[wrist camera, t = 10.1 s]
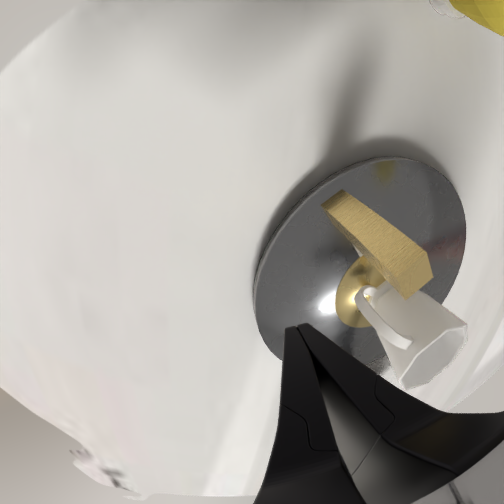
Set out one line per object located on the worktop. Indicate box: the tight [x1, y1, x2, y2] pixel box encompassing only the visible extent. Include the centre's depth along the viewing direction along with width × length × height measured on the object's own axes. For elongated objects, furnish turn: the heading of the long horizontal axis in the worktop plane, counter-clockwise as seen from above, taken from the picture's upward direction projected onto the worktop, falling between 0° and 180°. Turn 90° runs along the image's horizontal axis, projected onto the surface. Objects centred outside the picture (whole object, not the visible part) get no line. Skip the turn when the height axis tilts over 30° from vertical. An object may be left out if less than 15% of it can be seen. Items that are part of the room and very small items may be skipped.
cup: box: [354, 280, 468, 391], centre depth 20 cm, size 7×10×8 cm
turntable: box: [253, 157, 466, 365], centre depth 20 cm, size 22×22×10 cm
